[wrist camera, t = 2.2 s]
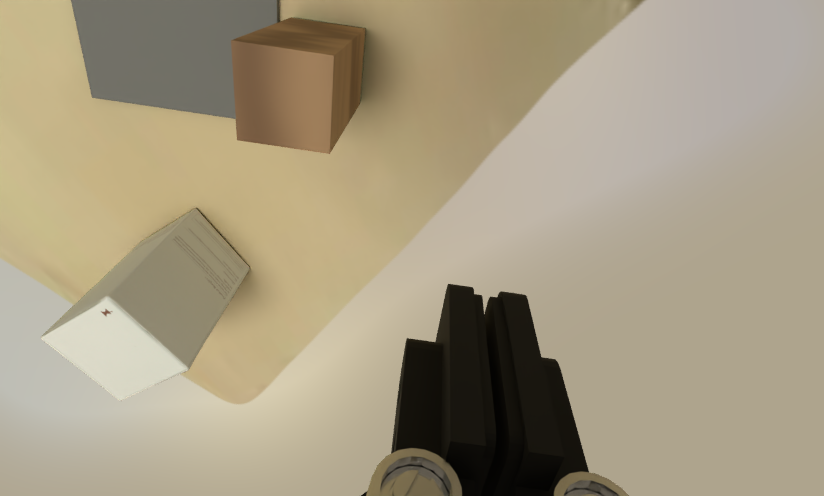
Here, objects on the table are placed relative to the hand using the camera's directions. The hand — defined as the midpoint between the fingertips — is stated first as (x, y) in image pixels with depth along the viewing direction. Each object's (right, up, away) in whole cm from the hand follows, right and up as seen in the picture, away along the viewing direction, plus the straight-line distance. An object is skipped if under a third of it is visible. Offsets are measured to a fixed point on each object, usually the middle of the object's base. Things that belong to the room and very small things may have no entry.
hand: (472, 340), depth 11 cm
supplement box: (-21, +2, +33) cm, 39 cm away
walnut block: (-7, +15, +23) cm, 29 cm away
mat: (-18, +17, +23) cm, 33 cm away
